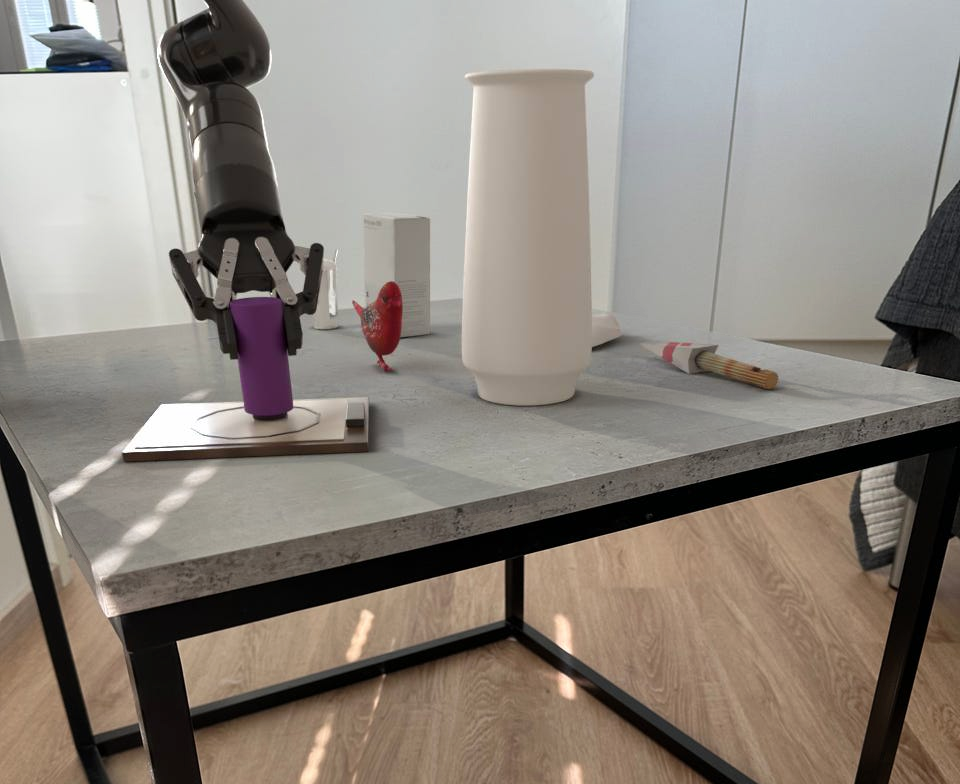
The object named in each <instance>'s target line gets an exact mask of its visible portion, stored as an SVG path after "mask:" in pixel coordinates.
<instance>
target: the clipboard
mask: <svg viewBox="0 0 960 784" xmlns="http://www.w3.org/2000/svg"><path fill="white" fill-rule="evenodd" d="M287 413H288V415H287V416H286V417H284V418H281V419H276V420H257V419H254V418H253V417H252V414H248V413H246V412H245V410H244V403H243V401H221V402H197V403H196V402H195V403H169V404H168V403H166V404H160V405H159V407H158V408H157V409H156V411H154V413H153V414H152V416H150V418H149V419H148V420H147V422H145V424H144V425H143V426H142V427H141V429H140V430H139V431H138V432H137V434H136V435H135V436H134V437H133V439H132V440H131V441H130V442H129V443H128V445H126V447H125V448H124V449H123V451H121V456H122V460H123V462H124V463H125V462H126V463H127V462H150V461H152V462H153V461H154V462H155V461H173V460H174V461H175V460H176V461H177V460H199V459H200V460H201V459H223V458H224V459H225V458H246V457H249V458H250V457H270V456H292V455H294V456H295V455H296V456H297V455H313V454H314V455H316V454H339V453H340V454H341V453H364V452H365V453H366V452H367V453H368V452H369V427H370V426H369V425H370V398H369V396H357V397H329V398H303V399H293V409H292V410H291V411H289V412H287Z"/></svg>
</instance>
